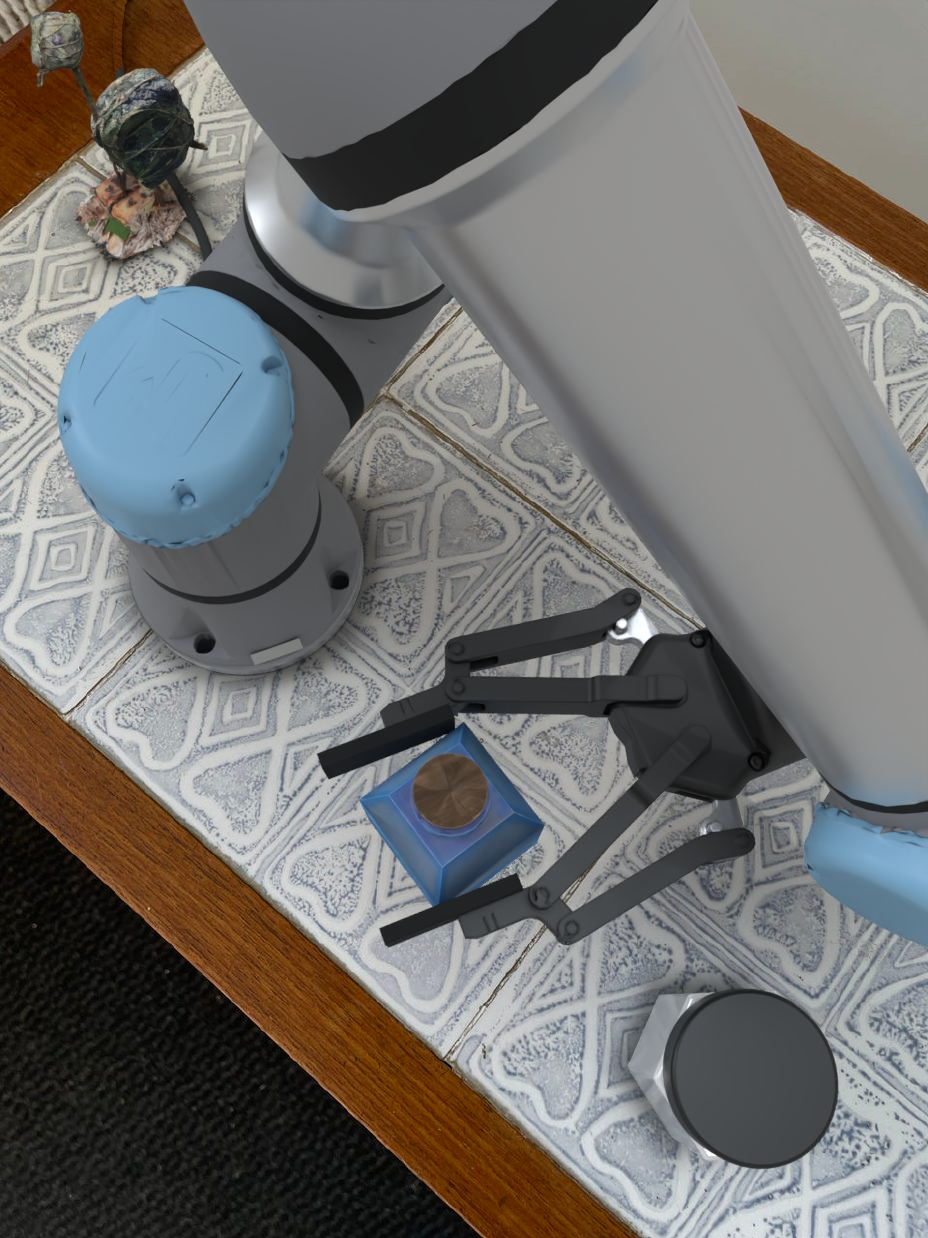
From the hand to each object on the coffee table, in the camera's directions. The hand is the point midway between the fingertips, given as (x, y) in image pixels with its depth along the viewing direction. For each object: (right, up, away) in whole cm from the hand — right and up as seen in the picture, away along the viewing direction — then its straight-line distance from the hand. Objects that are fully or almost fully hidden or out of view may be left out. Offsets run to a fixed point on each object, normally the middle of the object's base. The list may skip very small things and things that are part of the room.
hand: (353, 850), depth 51 cm
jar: (+19, -15, +14) cm, 28 cm away
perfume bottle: (+4, -1, +7) cm, 8 cm away
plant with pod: (-19, +41, +33) cm, 56 cm away
